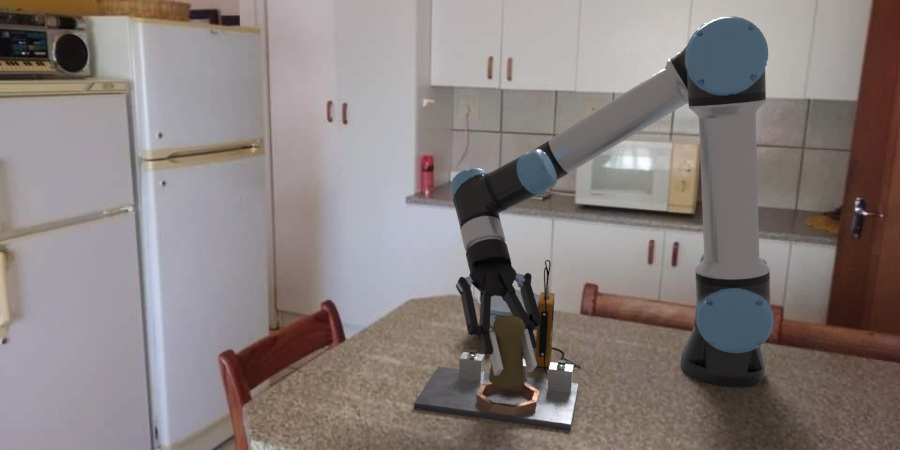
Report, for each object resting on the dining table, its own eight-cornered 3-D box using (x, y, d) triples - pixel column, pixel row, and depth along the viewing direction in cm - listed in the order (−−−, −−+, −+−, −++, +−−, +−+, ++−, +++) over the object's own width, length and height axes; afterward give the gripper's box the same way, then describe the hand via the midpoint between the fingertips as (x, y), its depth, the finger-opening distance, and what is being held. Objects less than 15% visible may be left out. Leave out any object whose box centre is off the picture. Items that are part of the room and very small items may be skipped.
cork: (529, 376, 123) (532, 315, 120) (517, 390, 117) (520, 326, 115) (496, 369, 125) (499, 309, 123) (483, 382, 120) (485, 320, 117)
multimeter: (587, 381, 133) (593, 276, 128) (532, 375, 134) (537, 272, 130) (588, 351, 147) (594, 256, 142) (539, 346, 149) (543, 252, 144)
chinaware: (479, 320, 163) (480, 287, 161) (546, 324, 161) (548, 291, 159) (472, 345, 148) (473, 309, 147) (545, 350, 147) (547, 314, 145)
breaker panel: (578, 388, 129) (579, 358, 128) (570, 429, 115) (572, 396, 113) (438, 371, 135) (438, 342, 134) (414, 408, 121) (414, 376, 119)
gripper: (526, 255, 134) (558, 373, 123) (432, 260, 129) (457, 384, 117) (539, 234, 128) (575, 356, 117) (441, 239, 123) (468, 367, 111)
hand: (515, 370), depth 117 cm, fingers closed on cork, 5 cm apart
